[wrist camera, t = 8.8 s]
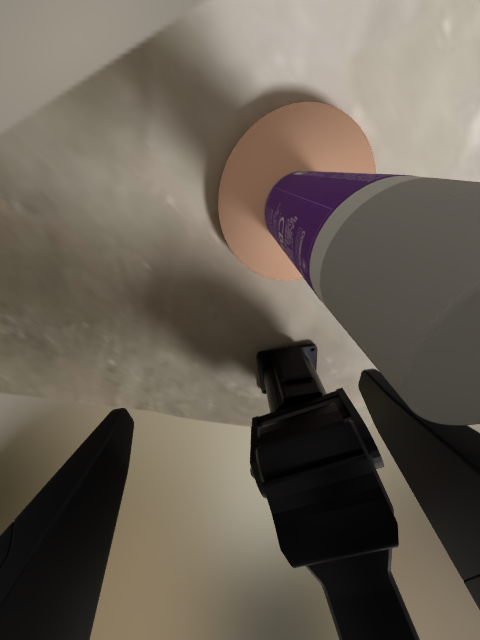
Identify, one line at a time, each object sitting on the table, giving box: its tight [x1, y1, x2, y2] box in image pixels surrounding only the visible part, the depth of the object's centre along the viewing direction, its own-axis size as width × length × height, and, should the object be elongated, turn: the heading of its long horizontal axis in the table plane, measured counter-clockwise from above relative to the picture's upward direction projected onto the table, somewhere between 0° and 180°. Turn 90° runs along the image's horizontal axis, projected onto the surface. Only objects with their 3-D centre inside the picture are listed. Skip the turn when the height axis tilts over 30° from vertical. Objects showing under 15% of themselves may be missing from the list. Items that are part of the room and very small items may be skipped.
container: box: [264, 171, 480, 425], centre depth 10 cm, size 5×5×15 cm
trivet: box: [218, 101, 376, 280], centre depth 17 cm, size 11×11×1 cm
